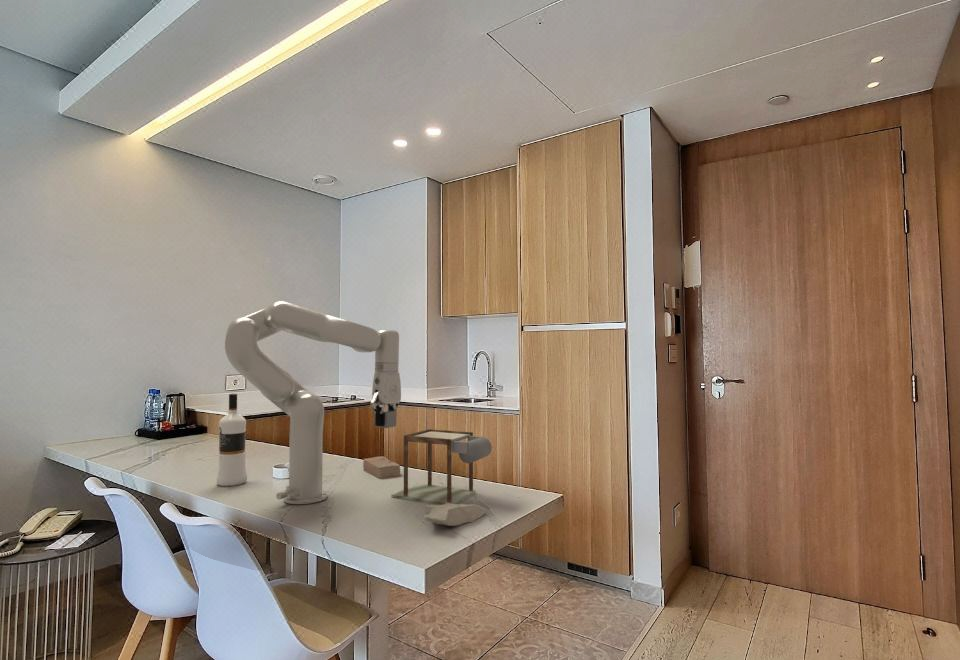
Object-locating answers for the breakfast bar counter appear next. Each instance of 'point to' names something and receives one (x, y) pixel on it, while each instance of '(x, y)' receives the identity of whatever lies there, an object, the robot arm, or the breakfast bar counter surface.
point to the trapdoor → (465, 445)
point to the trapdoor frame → (430, 491)
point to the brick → (381, 467)
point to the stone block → (388, 419)
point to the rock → (453, 513)
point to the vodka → (232, 447)
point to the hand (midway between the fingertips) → (385, 424)
